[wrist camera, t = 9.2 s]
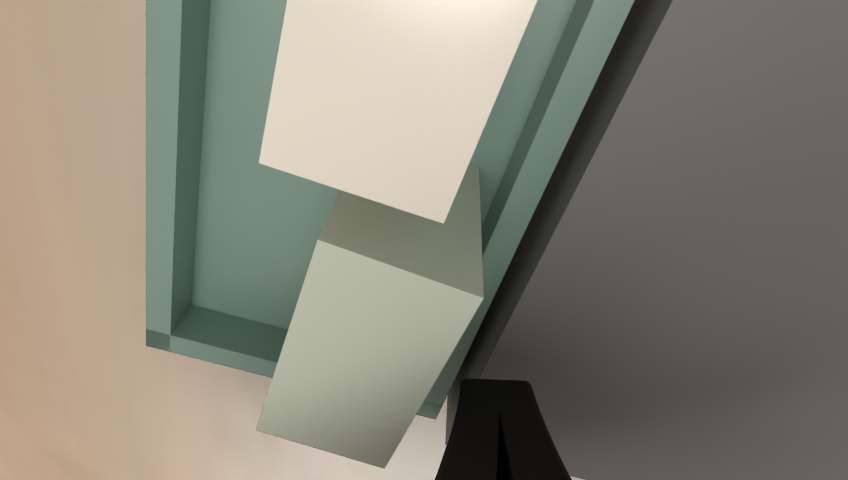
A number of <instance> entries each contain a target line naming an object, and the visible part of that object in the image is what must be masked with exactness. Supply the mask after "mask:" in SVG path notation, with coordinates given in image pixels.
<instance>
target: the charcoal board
mask: <svg viewBox="0 0 848 480" xmlns="http://www.w3.org/2000/svg"><path fill="white" fill-rule="evenodd" d="M466 378H470V379H496V380H522V381H528V382H529V383H530V384H531V385H532V389H533V392H534V395H535V398H536V401H537V404H538V406H539V409H540V412H541V414H542V417H543V419H544V422H545V424H546V427H547V429H548V431H549V433H550V436H551V438H552V440H553V443H554V445H555V447H556V449H557V451H558V453H559V456H560V458H561V460H562V462H563V464H564V466H565V468H566V470H567V472H568V474H569V476H573V477H577V478H581V479H585V480H848V0H635V1H634V3H633V5H632V7H631V9H630V11H629V13H628V15H627V18H626V20H625V22H624V24H623V26H622V28H621V30H620V32H619V34H618V36H617V39H616V41H615V43H614V45H613V47H612V49H611V51H610V53H609V55H608V58H607V60H606V62H605V64H604V66H603V68H602V70H601V72H600V74H599V77H598V79H597V81H596V83H595V85H594V87H593V89H592V91H591V93H590V95H589V98H588V100H587V102H586V104H585V106H584V108H583V110H582V112H581V114H580V117H579V119H578V121H577V123H576V125H575V127H574V129H573V131H572V133H571V136H570V138H569V140H568V142H567V144H566V146H565V148H564V150H563V152H562V154H561V157H560V159H559V161H558V163H557V165H556V167H555V169H554V171H553V173H552V176H551V178H550V180H549V182H548V184H547V186H546V188H545V190H544V192H543V195H542V197H541V199H540V201H539V203H538V205H537V207H536V209H535V211H534V213H533V216H532V218H531V220H530V222H529V224H528V226H527V228H526V230H525V232H524V235H523V237H522V239H521V241H520V243H519V245H518V247H517V249H516V251H515V253H514V256H513V258H512V260H511V262H510V264H509V266H508V268H507V270H506V272H505V275H504V277H503V279H502V281H501V283H500V285H499V287H498V289H497V291H496V294H495V296H494V298H493V300H492V302H491V304H490V306H489V308H488V310H487V312H486V315H485V317H484V319H483V321H482V323H481V325H480V327H479V329H478V331H477V334H476V336H475V338H474V340H473V342H472V344H471V346H470V348H469V350H468V353H467V355H466V357H465V359H464V361H463V363H462V365H461V367H460V369H459V371H458V374H457V376H456V378H455V380H454V382H453V384H452V386H451V388H450V390H449V393H448V398H447V421H446V443H445V445H447V443H448V440H449V437H450V434H451V430H452V426H453V423H454V419H455V415H456V410H457V406H458V400H459V394H460V382H461V381H463V380H464V379H466Z"/></svg>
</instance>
